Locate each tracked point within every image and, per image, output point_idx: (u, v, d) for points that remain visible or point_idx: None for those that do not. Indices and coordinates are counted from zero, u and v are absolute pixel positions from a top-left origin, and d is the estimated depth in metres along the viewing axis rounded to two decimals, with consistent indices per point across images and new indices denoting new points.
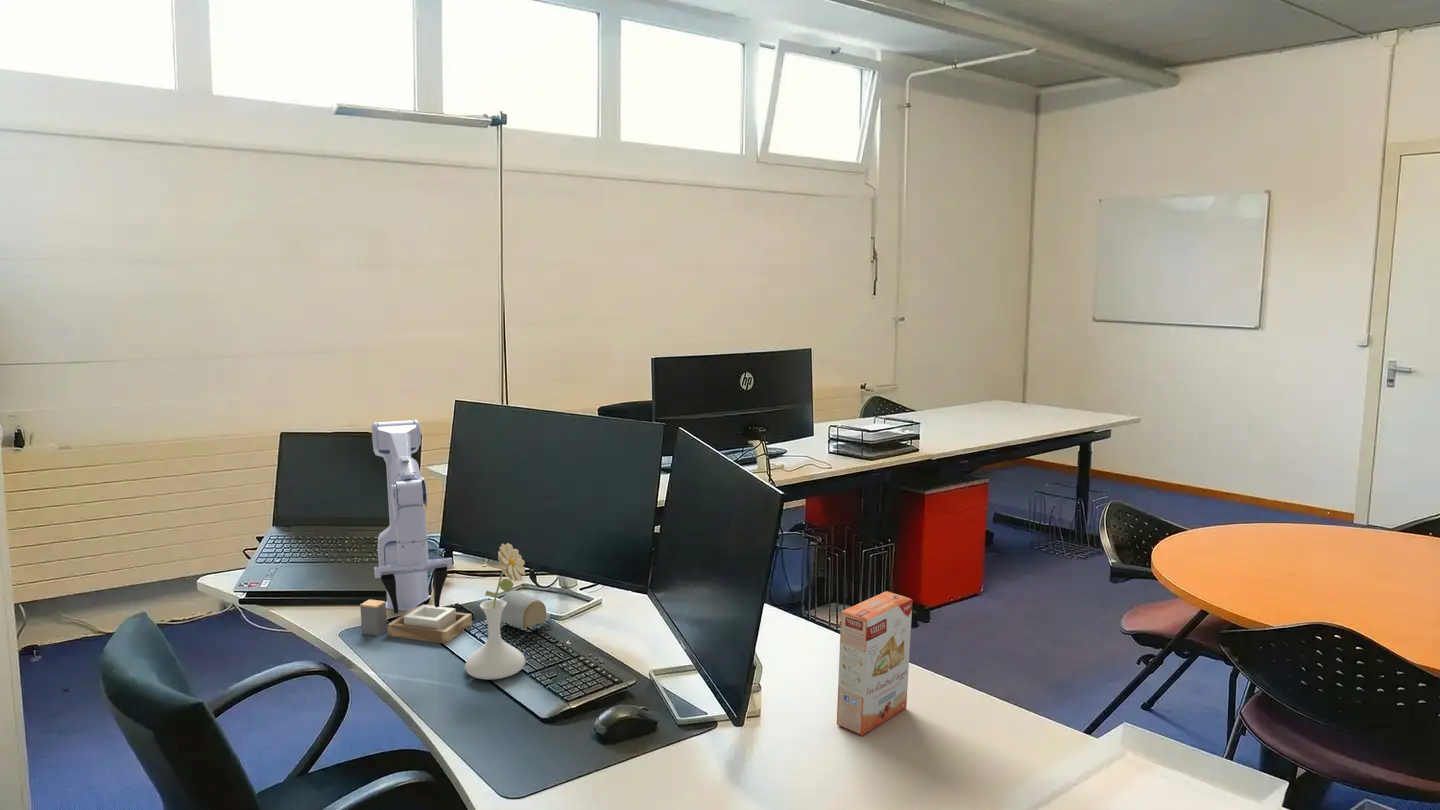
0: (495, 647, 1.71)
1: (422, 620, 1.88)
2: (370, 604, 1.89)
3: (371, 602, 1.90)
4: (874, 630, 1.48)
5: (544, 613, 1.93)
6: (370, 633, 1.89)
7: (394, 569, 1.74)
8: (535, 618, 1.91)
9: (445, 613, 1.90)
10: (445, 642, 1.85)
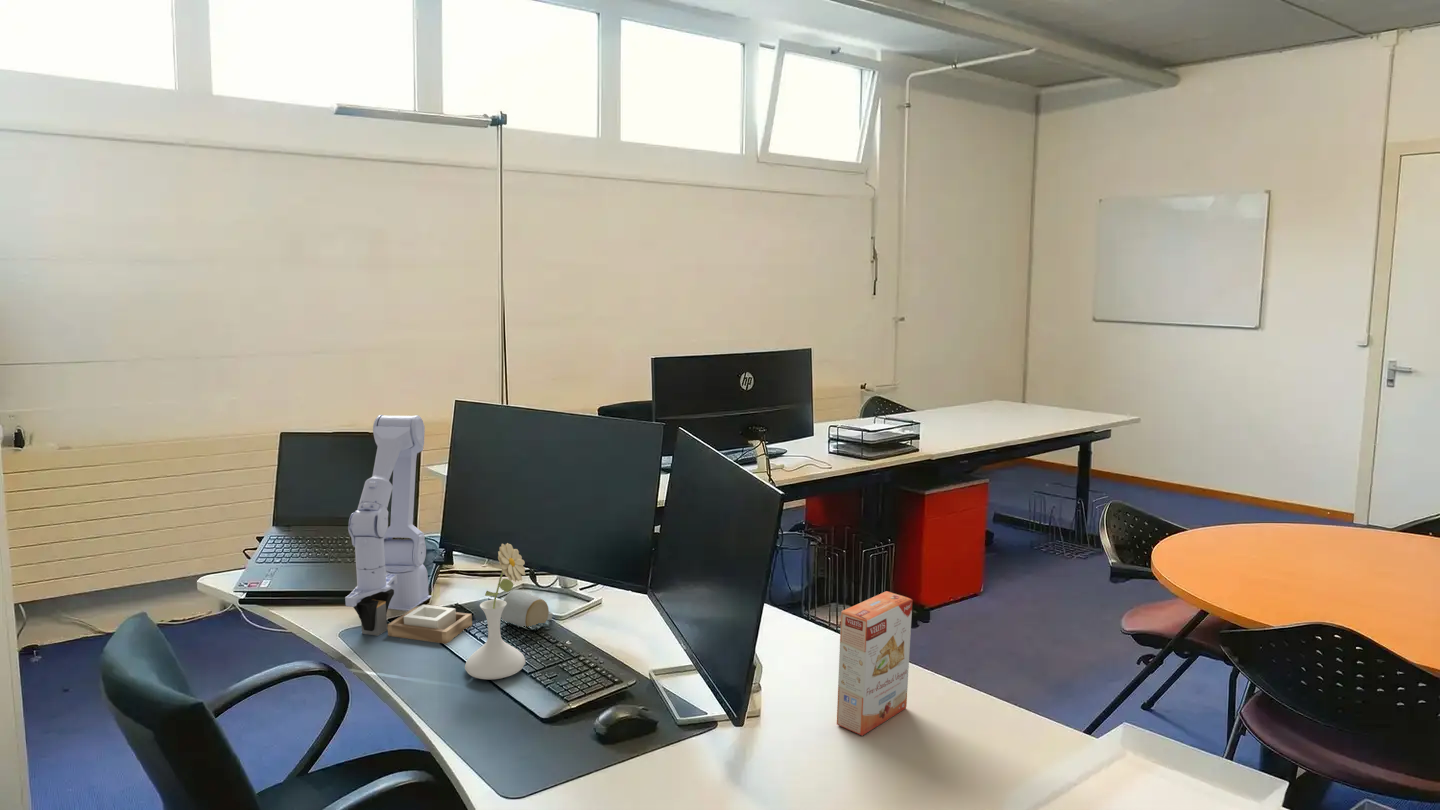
0: (495, 647, 1.71)
1: (422, 620, 1.88)
2: None
3: None
4: (874, 630, 1.48)
5: (546, 612, 1.94)
6: (370, 633, 1.89)
7: (368, 594, 1.85)
8: (537, 617, 1.92)
9: (445, 613, 1.90)
10: (445, 642, 1.85)
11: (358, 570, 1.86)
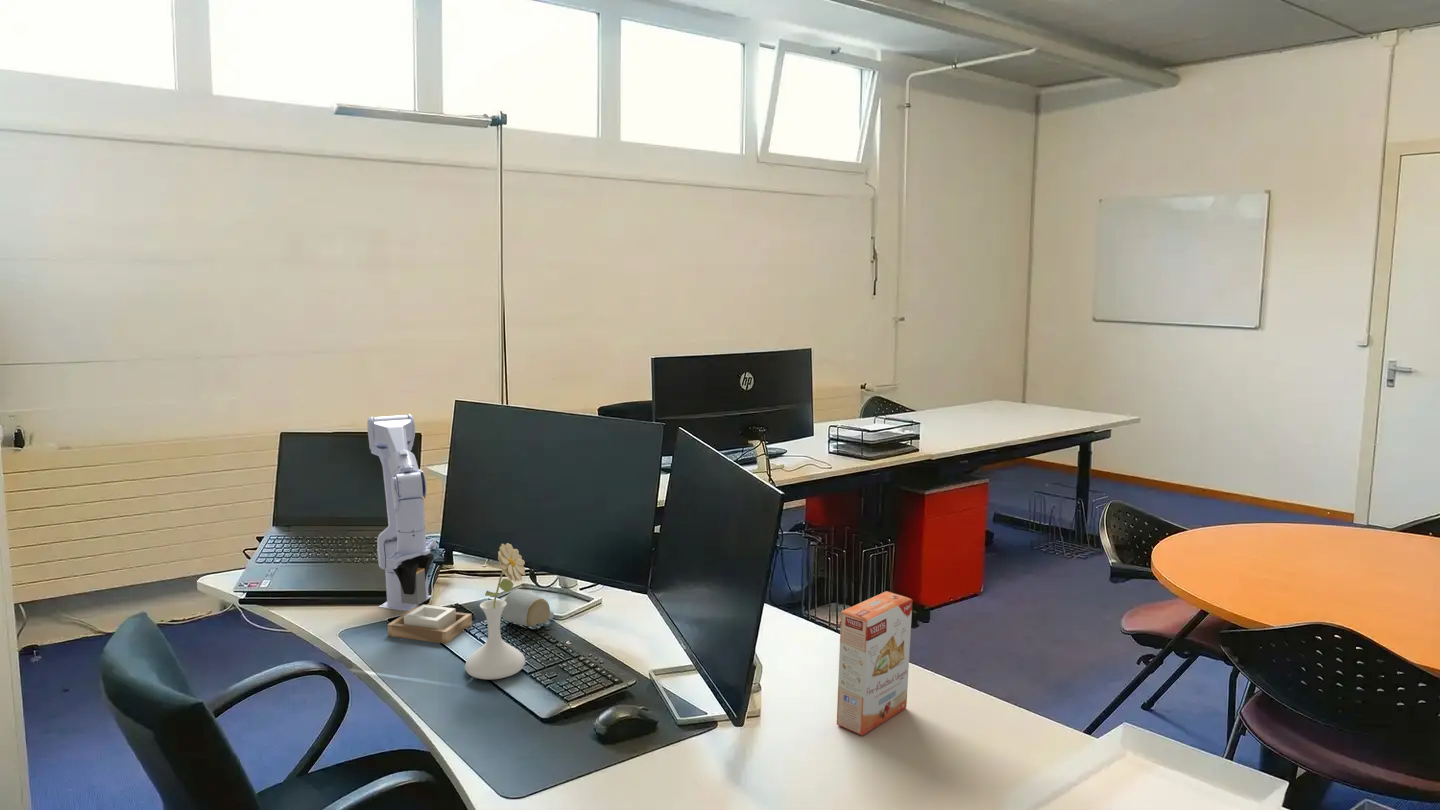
0: (495, 647, 1.71)
1: (422, 620, 1.88)
2: None
3: None
4: (874, 630, 1.48)
5: (548, 611, 1.94)
6: (409, 600, 1.89)
7: (409, 557, 1.84)
8: (539, 617, 1.92)
9: (445, 613, 1.90)
10: (445, 642, 1.85)
11: (398, 533, 1.86)
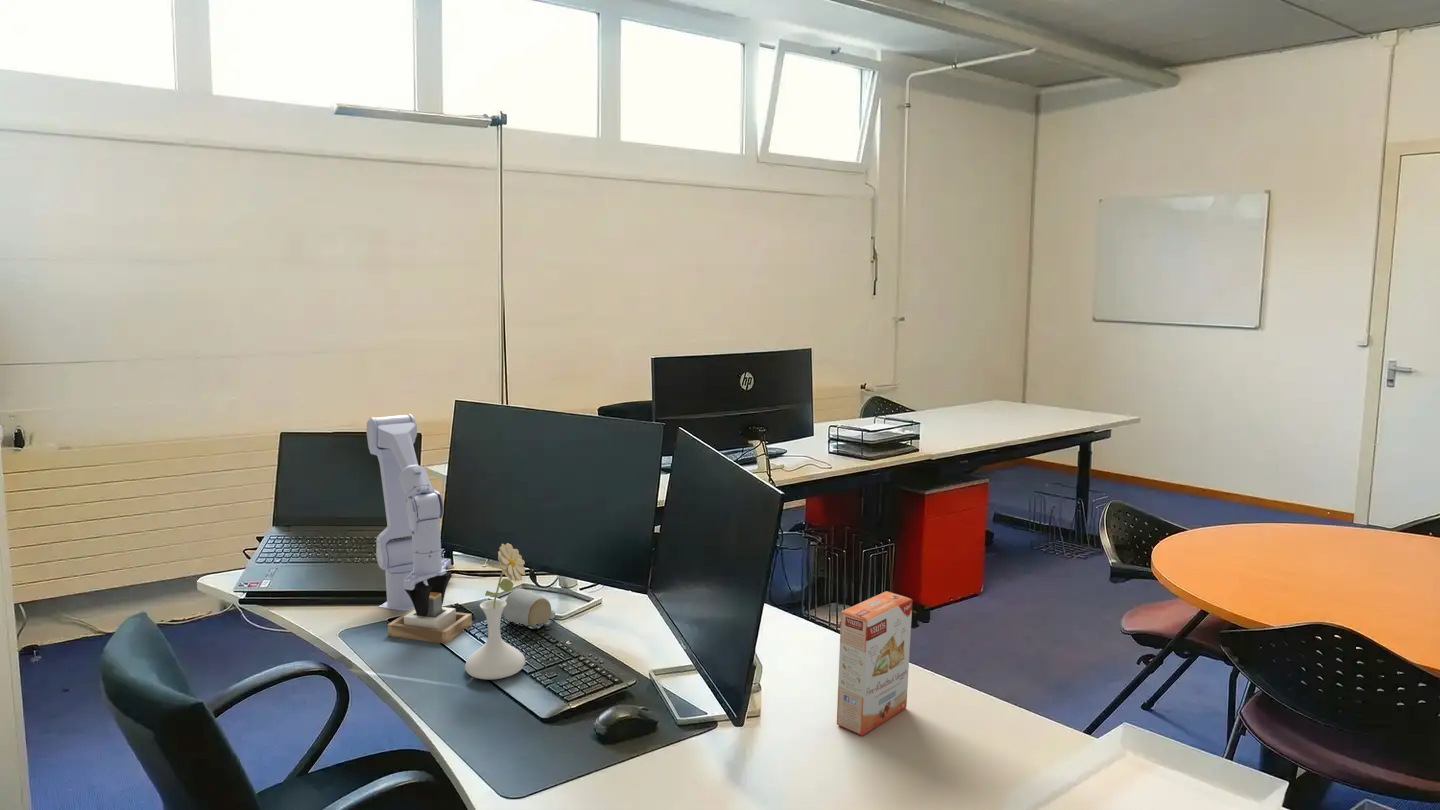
0: (495, 647, 1.71)
1: (422, 620, 1.88)
2: None
3: None
4: (874, 630, 1.48)
5: (549, 611, 1.95)
6: None
7: (425, 578, 1.85)
8: (540, 616, 1.93)
9: (445, 613, 1.90)
10: (445, 642, 1.85)
11: (415, 554, 1.87)
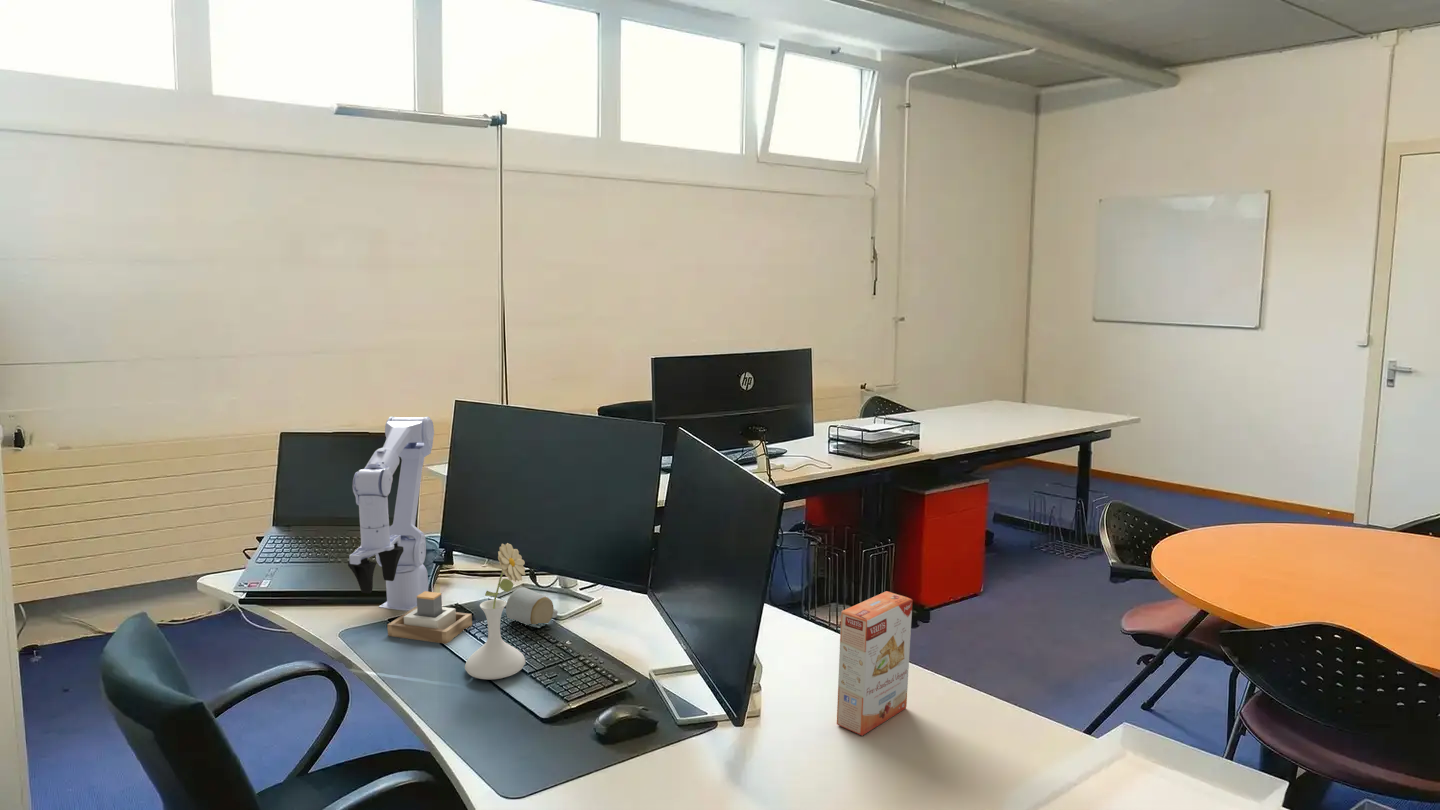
0: (495, 647, 1.71)
1: (422, 620, 1.88)
2: (426, 596, 1.89)
3: (427, 594, 1.90)
4: (874, 630, 1.48)
5: (551, 610, 1.95)
6: None
7: (372, 553, 1.86)
8: (542, 615, 1.93)
9: (445, 613, 1.90)
10: (445, 642, 1.85)
11: (362, 529, 1.87)
